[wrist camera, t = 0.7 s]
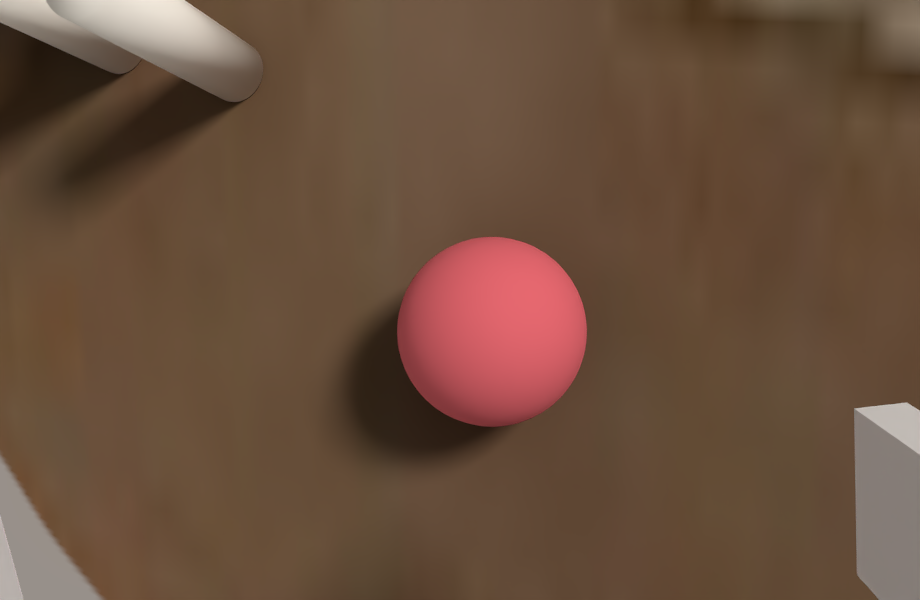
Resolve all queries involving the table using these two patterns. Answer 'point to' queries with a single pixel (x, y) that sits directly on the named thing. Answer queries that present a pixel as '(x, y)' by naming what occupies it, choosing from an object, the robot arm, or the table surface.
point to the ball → (492, 331)
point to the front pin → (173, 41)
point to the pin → (65, 35)
